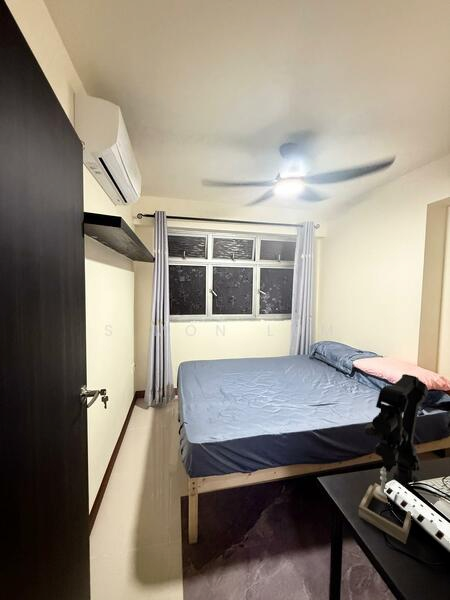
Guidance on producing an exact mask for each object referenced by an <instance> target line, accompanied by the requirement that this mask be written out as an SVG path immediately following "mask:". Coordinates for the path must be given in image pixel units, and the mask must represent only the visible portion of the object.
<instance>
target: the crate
mask: <svg viewBox="0 0 450 600" xmlns="http://www.w3.org/2000/svg"><path fill="white" fill-rule="evenodd" d="M373 494H374V485H372V484H370V485H369V486H368V489H367V490H366V493H365V495H364V496H363V498H362V500H361V502H360V503H359V506H358V517H359V518H362V520H364V521H366V522H368V523H369V524H371V525H373V526H375V527H376V528H377V529H379V530H381V531H383V532H385V533H386V534H388V535H389V536H392V537H393V538H395V539H397V540H398V541H400V542H402V543H403V544H404V545H405V544H407V540H408V536H409V533H410V530H411V526H412V522H411V520H412V521H413V519H411V512H410V511H408V510H407V511H406V512H407V513H406V515H405V519H404V522H403V526H402V527H401V526H399V525H397V524H395V523H394V522H392V521H390V520H388V519H386V518H385V517H383V516H381V515H380V514H378V513H376V512H374V511H372V510H370V509H369V508H368V507H369V504H370V503H371V502H372V499H373V498H374V497H373Z"/></svg>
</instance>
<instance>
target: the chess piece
mask: <svg viewBox="0 0 450 600" xmlns="http://www.w3.org/2000/svg"><path fill="white" fill-rule="evenodd" d="M379 473H380V477H379V479H380V480H381V484H380V486H378V487H376V490H375V492H376V493H377V495H379V496H380V497H382V498H385V499H387V496H386V494H385V493H384V489H385V487H386V482H387V473H388V472H387V471H386V469H385V466H382V468H380V471H379Z"/></svg>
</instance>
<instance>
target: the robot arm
mask: <svg viewBox="0 0 450 600" xmlns="http://www.w3.org/2000/svg"><path fill="white" fill-rule="evenodd" d="M428 394H429V388H428V386H427V384H426V383H425V382H424V381H422V380H420V379H419V377H417V376H416V375H411V374H402V375H401V378H400V379H398V380H397V381H396V382H395V383H394V384H393V385H392V384H390V385H385V386H383V387H382V388H380V390H379V393H378V398H377V401H376V404H375V408H377V409H380V411H379V412H378V414H377V415H376V416H375V417H373V419H372V421H371V422H372V423H367V424H366V426H364V434H365V435H366V436H367V437H369V438H372V437H373V438H379V440H381V441H382V442H381V441H380V442H378V443H377V444H376V445H375V446H374V454H375V455H377V456H379V457H380V458H381V459H382V462H383V467H384V469H386V471H385V472H387V473H390V472H391V471H392V469H393V467H394V465H395V472H394V474H393V479H394V480H397V481H398V482H400V483H403V484H405V483H406V484H405V485H407V483H408V482H412V481H413V480H415V481H416V480H417V479H416V477H417V476H415V475H414V472H415V473H416V472H420V471H421V463H420V462H421V461H420V458H419V457H418V456H417V449H416V446H415V444H414V437H415V431H416V426H417V425H416V424H417V420H418V413H419V407H420V406H421V405H422V404H423V403H425V401H426V397H428ZM383 441H384V442H386V443H384V442H383Z"/></svg>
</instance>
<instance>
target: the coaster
mask: <svg viewBox="0 0 450 600" xmlns="http://www.w3.org/2000/svg"><path fill="white" fill-rule="evenodd" d="M373 486H374V494H373V497H372V498H373V499H376V500H378V501H380V502H382V503H383V504H386V503H388V504H390V502H388V499H385V498H382V497H380V496H379V495H377V493H376V492H375V490H376V487H378V486H381V484H378V483H376V482H375V483H374V484H373ZM388 504H387V505H388ZM390 505H391V504H390ZM390 505H389V506H390Z"/></svg>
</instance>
